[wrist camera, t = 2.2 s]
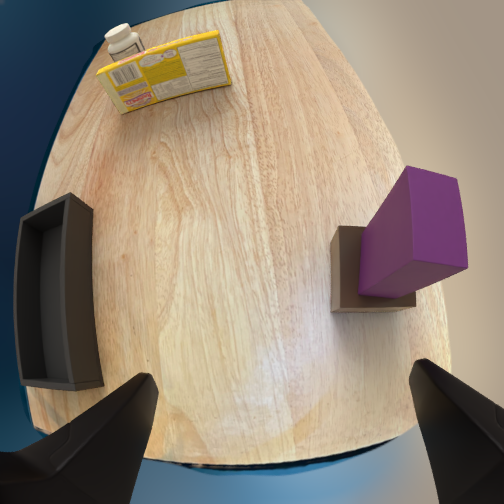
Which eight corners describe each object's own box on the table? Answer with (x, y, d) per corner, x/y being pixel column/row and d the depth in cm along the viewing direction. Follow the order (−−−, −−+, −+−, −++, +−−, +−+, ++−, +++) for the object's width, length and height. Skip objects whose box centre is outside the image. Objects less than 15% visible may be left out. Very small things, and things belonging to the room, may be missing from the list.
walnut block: (396, 311, 21) (416, 306, 17) (330, 312, 22) (339, 307, 18) (393, 245, 23) (410, 229, 19) (330, 242, 23) (338, 225, 20)
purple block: (395, 298, 17) (468, 268, 9) (357, 294, 18) (413, 260, 9) (397, 239, 19) (457, 178, 10) (361, 233, 19) (406, 164, 11)
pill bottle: (130, 66, 37) (109, 27, 27) (156, 59, 36) (137, 17, 27) (119, 84, 35) (95, 43, 26) (146, 77, 34) (124, 32, 25)
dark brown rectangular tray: (104, 386, 22) (75, 391, 17) (48, 383, 22) (20, 385, 18) (93, 209, 28) (70, 191, 23) (43, 230, 28) (20, 217, 24)
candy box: (230, 77, 31) (219, 28, 24) (231, 85, 31) (219, 35, 23) (123, 106, 33) (98, 67, 25) (120, 115, 32) (93, 76, 24)
